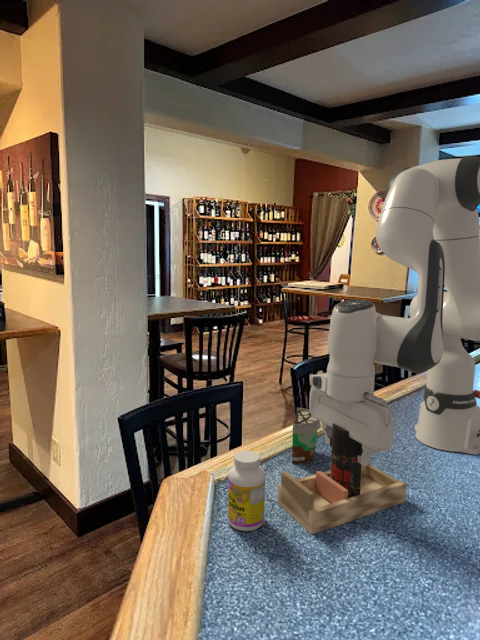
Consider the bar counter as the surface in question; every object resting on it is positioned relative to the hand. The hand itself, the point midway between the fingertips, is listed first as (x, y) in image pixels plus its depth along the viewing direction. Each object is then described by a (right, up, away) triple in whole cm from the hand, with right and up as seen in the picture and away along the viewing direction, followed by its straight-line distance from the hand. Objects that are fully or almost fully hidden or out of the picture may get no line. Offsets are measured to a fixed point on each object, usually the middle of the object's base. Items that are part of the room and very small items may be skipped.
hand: (346, 454), depth 90 cm
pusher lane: (-1, -10, +1) cm, 10 cm away
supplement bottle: (-20, -11, -5) cm, 23 cm away
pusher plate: (-3, -9, 0) cm, 9 cm away
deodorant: (0, -9, +1) cm, 9 cm away
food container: (-5, -7, +22) cm, 23 cm away
